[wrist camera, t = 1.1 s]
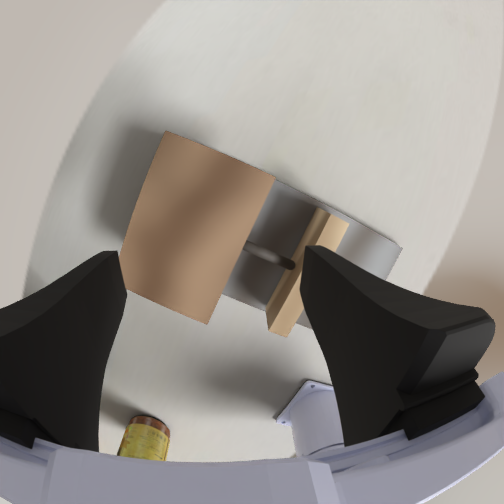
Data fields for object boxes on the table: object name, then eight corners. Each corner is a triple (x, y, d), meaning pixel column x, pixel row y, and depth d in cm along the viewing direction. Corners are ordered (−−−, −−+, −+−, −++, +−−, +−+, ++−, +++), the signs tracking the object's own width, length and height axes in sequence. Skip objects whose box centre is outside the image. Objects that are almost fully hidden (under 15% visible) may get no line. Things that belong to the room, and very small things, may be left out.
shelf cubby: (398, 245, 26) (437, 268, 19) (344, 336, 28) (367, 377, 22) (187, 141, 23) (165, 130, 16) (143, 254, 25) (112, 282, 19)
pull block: (333, 215, 23) (349, 223, 19) (280, 313, 26) (286, 337, 22) (198, 152, 22) (188, 148, 18) (154, 260, 24) (139, 276, 20)
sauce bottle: (124, 410, 31) (78, 528, 12) (166, 415, 31) (134, 547, 12) (137, 438, 33) (105, 545, 14) (176, 443, 33) (155, 558, 14)
